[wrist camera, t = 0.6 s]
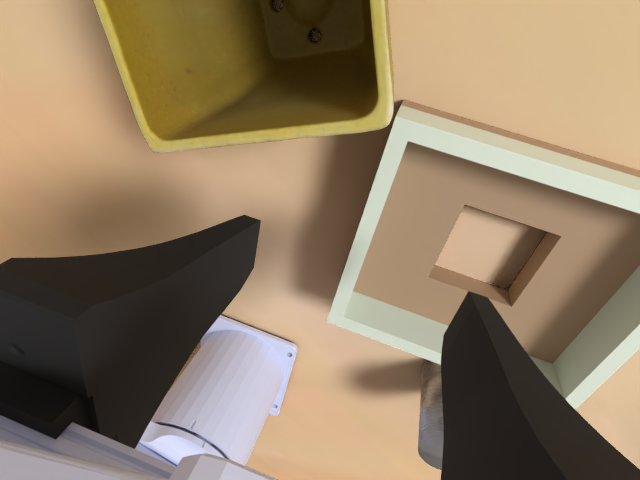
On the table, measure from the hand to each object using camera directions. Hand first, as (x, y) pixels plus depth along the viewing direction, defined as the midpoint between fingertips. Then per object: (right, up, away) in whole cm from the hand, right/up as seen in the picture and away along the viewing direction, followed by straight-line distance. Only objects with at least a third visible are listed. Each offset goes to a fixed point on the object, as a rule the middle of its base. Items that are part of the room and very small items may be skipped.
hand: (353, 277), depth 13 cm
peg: (+8, -8, +14) cm, 18 cm away
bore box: (+8, +1, +8) cm, 12 cm away
